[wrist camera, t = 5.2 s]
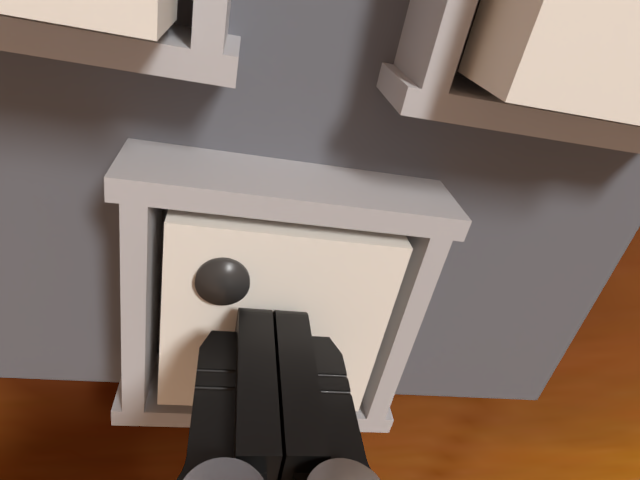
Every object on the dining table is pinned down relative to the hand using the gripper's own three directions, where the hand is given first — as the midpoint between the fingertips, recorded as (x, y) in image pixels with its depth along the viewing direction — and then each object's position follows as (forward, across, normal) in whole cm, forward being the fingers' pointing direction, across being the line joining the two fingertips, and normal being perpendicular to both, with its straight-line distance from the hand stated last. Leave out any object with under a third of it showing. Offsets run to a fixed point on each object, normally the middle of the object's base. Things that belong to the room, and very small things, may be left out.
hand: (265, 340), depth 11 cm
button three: (+2, 0, 0) cm, 2 cm away
